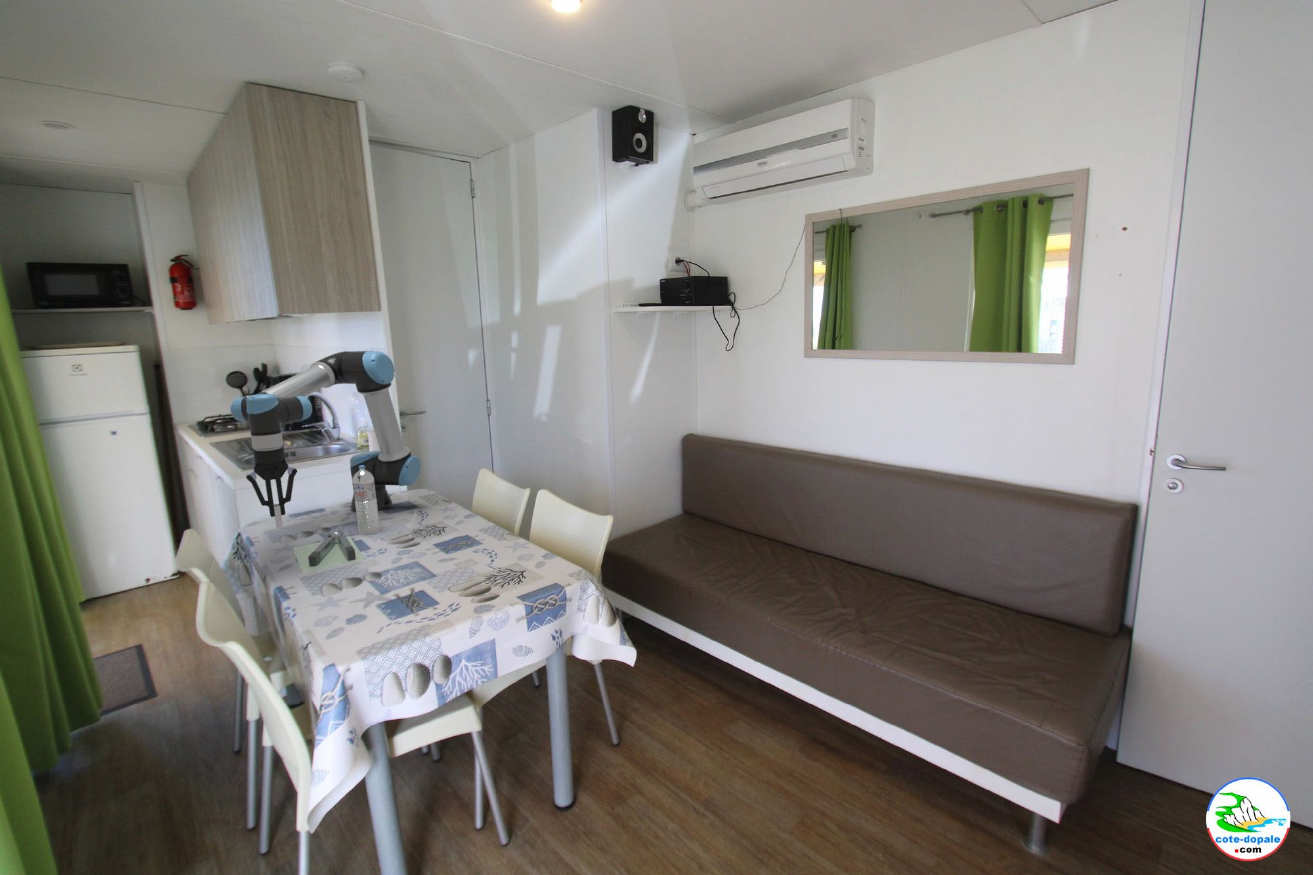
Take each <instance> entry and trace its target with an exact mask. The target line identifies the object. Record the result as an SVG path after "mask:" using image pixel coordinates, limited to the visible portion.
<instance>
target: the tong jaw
mask: <svg viewBox="0 0 1313 875" xmlns="http://www.w3.org/2000/svg"><path fill="white" fill-rule="evenodd" d="M321 542H322V543H321V544H320V545H319V546H318V547H317V548H316V549H315V550H314V552H312V553H311V554H310V555H309V556H308V560H309V566H314V565H318V563H319V562H320V561H321V560H322V559H323V557H324V556H325V555H326V554H327V553H328V552H329V551H330V549H331V548H332V547H333V546H334V545H335V544H334V537H327V536H326V538H325V539H323V541H321Z"/></svg>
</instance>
